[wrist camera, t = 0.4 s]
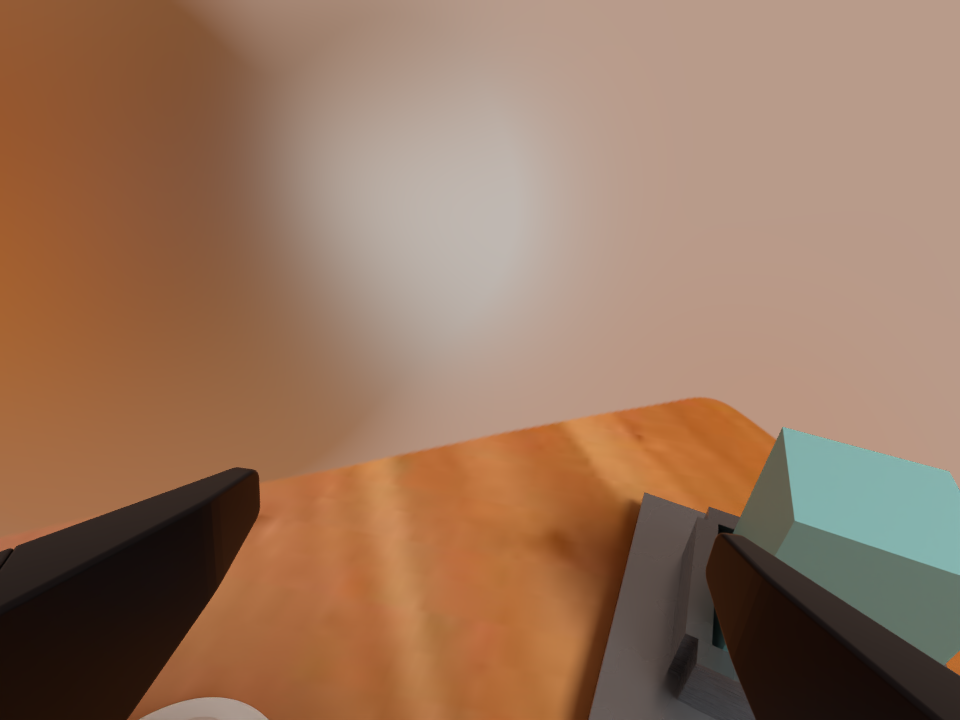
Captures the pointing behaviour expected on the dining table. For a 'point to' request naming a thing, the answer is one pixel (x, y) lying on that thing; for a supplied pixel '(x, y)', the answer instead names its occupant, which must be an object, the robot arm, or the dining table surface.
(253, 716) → the wall hook
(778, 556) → the teal block
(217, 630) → the dining table surface
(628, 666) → the socket holder
